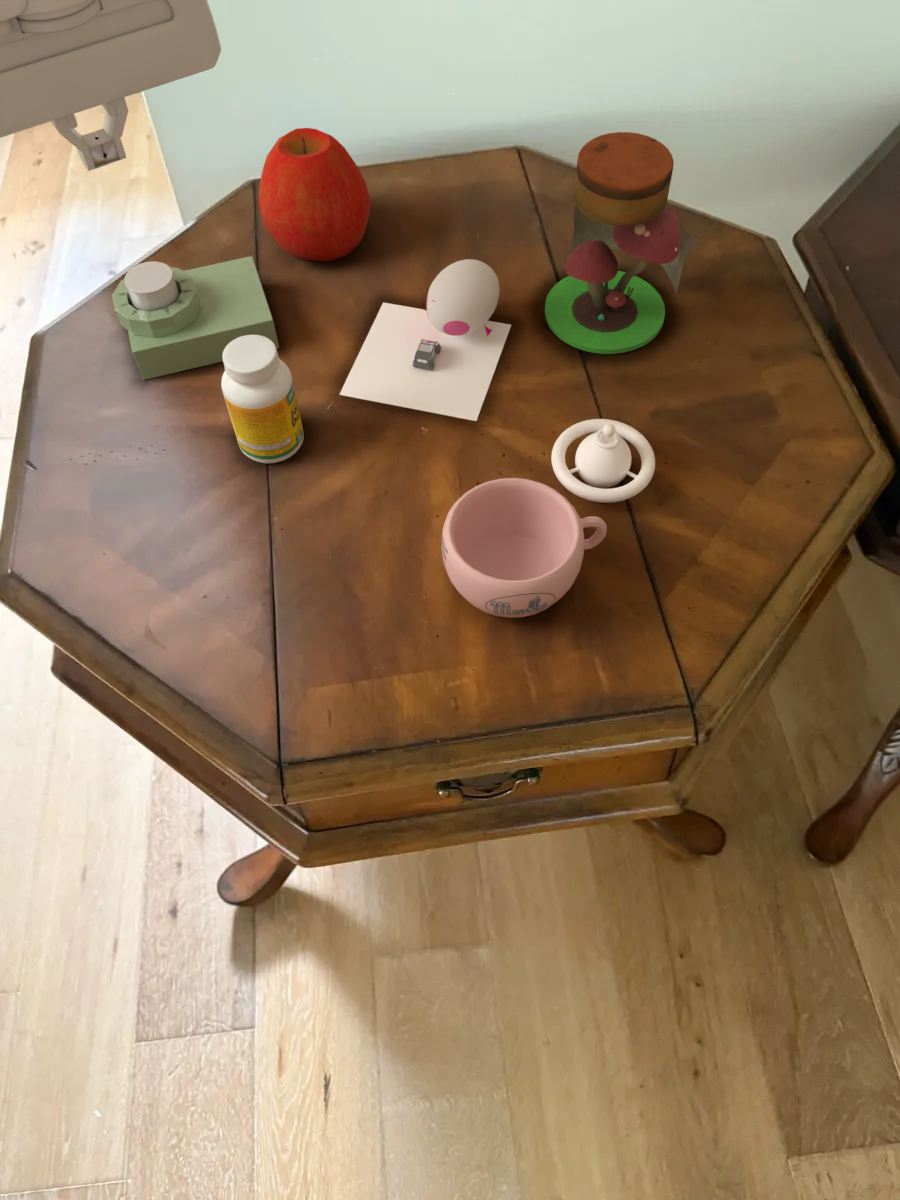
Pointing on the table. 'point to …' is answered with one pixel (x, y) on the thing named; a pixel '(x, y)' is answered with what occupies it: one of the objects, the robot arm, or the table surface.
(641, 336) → the mushroom terrarium figurine
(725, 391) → the table surface
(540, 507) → the mug
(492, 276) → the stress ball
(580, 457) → the ring around a ball
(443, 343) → the thin white square mat
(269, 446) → the supplement bottle
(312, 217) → the apple
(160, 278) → the button
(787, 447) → the table surface
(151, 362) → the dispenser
